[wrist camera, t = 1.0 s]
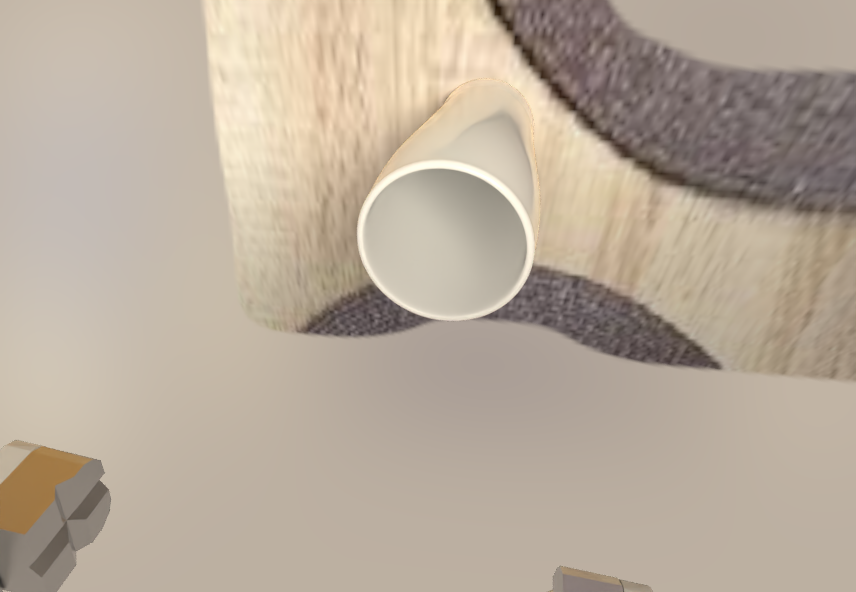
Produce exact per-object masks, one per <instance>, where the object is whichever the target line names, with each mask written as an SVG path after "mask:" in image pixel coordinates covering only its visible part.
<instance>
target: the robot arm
mask: <svg viewBox="0 0 856 592" xmlns="http://www.w3.org/2000/svg"><path fill="white" fill-rule="evenodd" d="M104 473H105V472H104V469H103V466H102V463H101V460H97V459H93V458H89V457H85V456H81V455H77V454H72V453H68V452H64V451H60V450H56V449H52V448H48V447H45V446H41V445H37V444H32V443H28V442H24V441H19V440H15V441H13V442H11V443H9V444H7V445H5V446H3V448H1V450H0V592H3V591H2V590H6V591H11V592H57V591H58V589H59V588H60V587H61V585H62V584H63V582H64V581H65V580H66V578H67V577H68V576H69V574H70V573H71V571H72V570H73V569H74V567H75V566H76V551H78V550H80V549H81V548H83V547H85V546H87V545H88V544H90V543H92V542H93V541H94V540H95V538H96V537H97V535H98V534H99V532H100V531H101V530H102V528H103V526H104V524H105V521H106V519H107V516H108V514H109V511H110V502H111V497H110V493H109V489H108V488H107V487H106V486H105V485H104V484H103V483H102V482H101V481H100V480H99V479H100V478H101V477H102V475H103V474H104ZM549 592H653V591H652V589H651V587H649V586H647V585H643V584H638V583H634V582H628V581H624V580H619V579H618V578H615V577H611V576H606V575H601V574H596V573H592V572H587V571H582V570H577V569H573V568H568V567H563V566H559V567H558V568H557V569H556V571H555V573H554V576H553V590H551V591H549Z"/></svg>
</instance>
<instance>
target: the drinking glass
mask: <svg viewBox="0 0 856 592" xmlns="http://www.w3.org/2000/svg"><path fill="white" fill-rule="evenodd" d="M533 135H534V119H533V114H532V111H531V109H530V106H529V104H528V102H527V101H526V99H525V98H524V96H523V95H522V94H521V93H520V92H519V91H518V90H517V89H515V88H514V87H513V86H511V85H510V84H507V83H505V82H503V81H500V80H496V79H488V78H484V79H476V80H472V81H469V82H467V83H465V84H463V85H461V86H460V87H458V88H457V89H456V90H454V91H453V92H452V93H451V94H450V95H449V97H448V98H447V99H446V101H445V102H444V104H443V105H442V106H441V107H440V108H439V109H438V110H437V111H436V112H435V113H434V114H433V115H432V116H431V117H430V118H429V119H428V120H427V121H426V122H425V123H424V124H422V125H421V126H420V127H419V128H418V129H417V130H416V131H415V132H414V133H413V134H412V135H411V136H410V137H409V138H408V139H407V140H406V141H405V142H404V143H403V144H402V145H401V146H400V147H399V148H398V149H397V151H396V152H395V153H394V154H393V156H392V157H391V158H390V159H389V161H388V162H387V164H386V165H385V167H384V168H383V170H382V171H381V173H380V174H379V176H378V178H377V179H376V181H375V183H374V185H373V187H372V188H371V190H370V192H369V194H368V196H367V198H366V199H365V201H364V203H363V206H362V208H361V211H360V214H359V218H358V224H357V244H358V250H359V254H360V258H361V260H362V263H363V265H364V267H365V269H366V271H367V273H368V275H369V276H370V278H371V279H372V281H373V282H374V283H375V285H376V286H377V287H378V288H379V289H380V290H381V292H383V293H384V294H385V295H386V296H387V297H388V298H389V299H391V300H392V301H393V302H395V303H396V304H397V305H399V306H401V307H402V308H404V309H406V310H408V311H410V312H412V313H414V314H417V315H420V316H423V317H426V318H430V319H435V320H442V321H463V320H470V319H475V318H479V317H482V316H485V315H487V314H490V313H492V312H494V311H496V310H498V309H499V308H501V307H502V306H504V305H505V304H507V303H508V302H509V301H510V300H511V299H512V298H513V297H514V296H515V295H516V294H517V293H518V292H519V291H520V289H521V288H522V287H523V285H524V283H525V282H526V280H527V278H528V276H529V274H530V271H531V268H532V265H533V261H534V255H535V250H536V245H537V240H538V233H539V224H540V187H539V178H538V170H537V163H536V156H535V148H534V139H533Z"/></svg>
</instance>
